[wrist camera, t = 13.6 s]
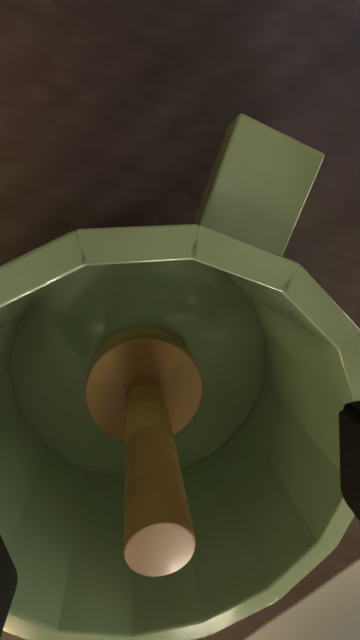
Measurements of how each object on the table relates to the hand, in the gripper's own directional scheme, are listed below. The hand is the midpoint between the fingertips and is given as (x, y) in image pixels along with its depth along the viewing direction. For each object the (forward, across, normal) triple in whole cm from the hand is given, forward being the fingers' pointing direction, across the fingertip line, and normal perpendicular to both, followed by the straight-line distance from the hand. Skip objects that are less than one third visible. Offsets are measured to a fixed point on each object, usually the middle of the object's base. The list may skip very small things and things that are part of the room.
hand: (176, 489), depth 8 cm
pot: (+8, +1, 0) cm, 8 cm away
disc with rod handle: (+8, +1, 0) cm, 8 cm away
